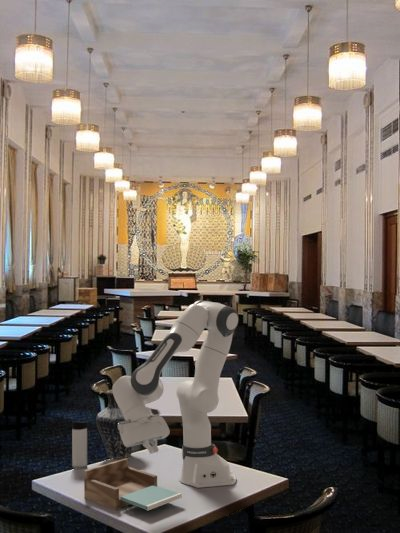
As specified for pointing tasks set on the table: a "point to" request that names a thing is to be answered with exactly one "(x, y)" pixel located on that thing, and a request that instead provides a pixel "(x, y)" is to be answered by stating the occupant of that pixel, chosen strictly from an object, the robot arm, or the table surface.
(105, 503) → the wooden drawer
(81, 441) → the travel mug
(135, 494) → the teal flat panel
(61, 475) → the table surface
